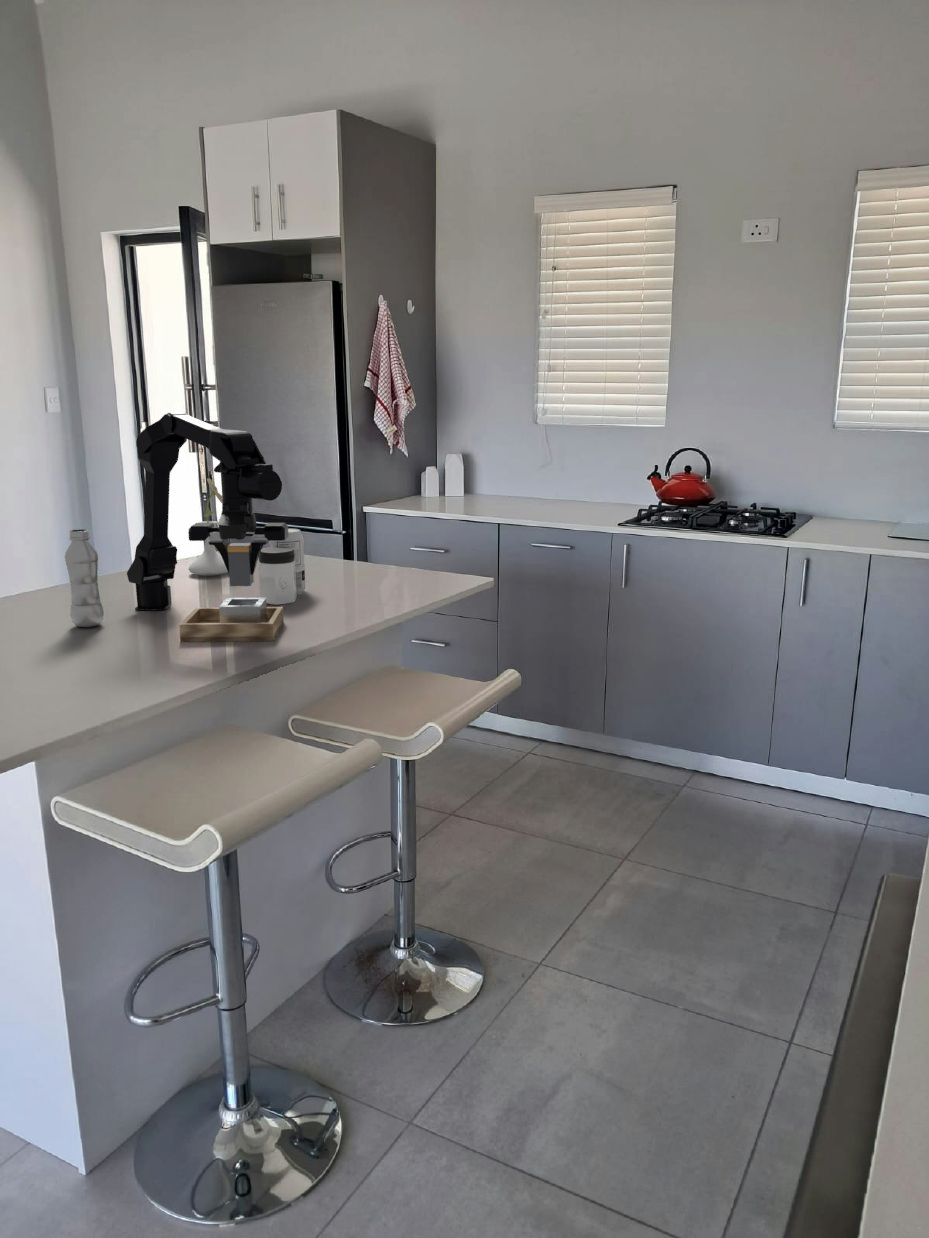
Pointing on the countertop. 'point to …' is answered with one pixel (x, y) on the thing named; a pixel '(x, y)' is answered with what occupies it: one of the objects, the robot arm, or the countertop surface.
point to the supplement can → (297, 544)
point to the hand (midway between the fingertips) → (241, 574)
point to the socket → (243, 610)
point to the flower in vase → (209, 548)
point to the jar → (277, 575)
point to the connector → (240, 564)
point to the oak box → (228, 627)
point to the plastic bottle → (83, 580)
